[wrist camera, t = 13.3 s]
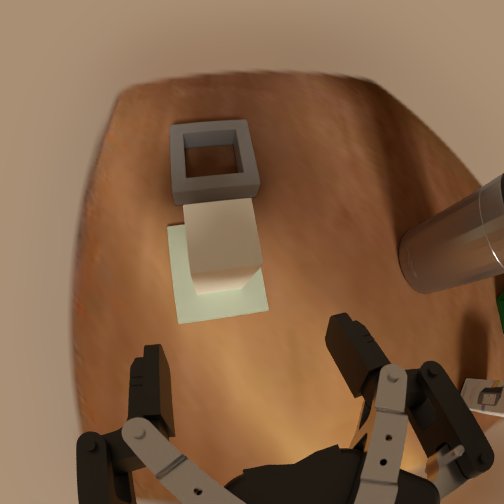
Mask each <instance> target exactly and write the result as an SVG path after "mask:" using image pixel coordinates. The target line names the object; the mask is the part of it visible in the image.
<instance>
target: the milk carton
mask: <svg viewBox="0 0 504 504" xmlns="http://www.w3.org/2000/svg"><path fill="white" fill-rule="evenodd" d="M496 301H497V305H498V309H499V314H500V318H501V323H502V328H503V333H504V291H503V292H502V293H501V295H500V296H499V297H498V298H497V300H496Z"/></svg>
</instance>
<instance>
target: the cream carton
mask: <svg viewBox="0 0 504 504" xmlns="http://www.w3.org/2000/svg"><path fill="white" fill-rule="evenodd" d="M183 211H184V221H185V231H186V241H187V250H188V258H189V267H190V274H191V277H192V281H193V284H194V287H195V290H196V294H197V295H198V294H206V293H213V292H220V291H227V290H234V289H241V288H243V287H244V285H245V284H246V283H247V282H248V281H249V280H250V279H251V278H252V276H253V275H254V274H255V273H256V272H257V271H258V270H259V269H260V267H261V266H262V265H263V258H262V253H261V247H260V242H259V237H258V231H257V226H256V221H255V215H254V210H253V205H252V199H251V198H245V199H234V200H224V201H214V202H205V203H196V204H188V205H183Z"/></svg>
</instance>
